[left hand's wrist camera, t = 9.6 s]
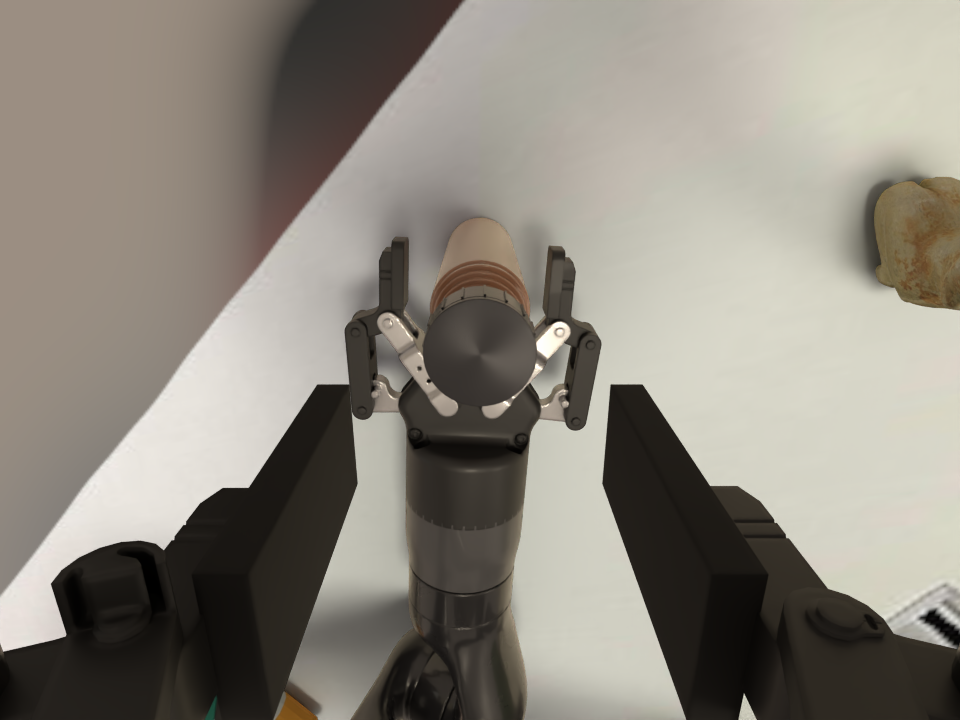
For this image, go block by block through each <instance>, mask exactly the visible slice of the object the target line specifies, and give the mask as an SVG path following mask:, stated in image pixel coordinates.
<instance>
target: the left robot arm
mask: <svg viewBox="0 0 960 720" xmlns="http://www.w3.org/2000/svg"><path fill="white" fill-rule="evenodd" d="M357 484H358V483H357V471H356V459H355V447H354V435H353V423H352V411H351V399H350V387H349V385H317V386H316V387H315V389H314V390H313V392H312V394H311V395H310V397H309V398H308V400H307V401H306V403H305V404H304V406H303V407H302V409H301V410H300V412H299V413H298V415H297V416H296V418H295V419H294V421H293V422H292V424H291V425H290V427H289V428H288V430H287V431H286V433H285V434H284V436H283V437H282V439H281V440H280V442H279V443H278V445H277V446H276V448H275V449H274V451H273V452H272V454H271V455H270V457H269V458H268V460H267V461H266V463H265V464H264V466H263V467H262V469H261V470H260V472H259V473H258V475H257V476H256V478H255V479H254V481H253V482H252V484H251V485H250V487H249V488H222V489H221V490H219V491H218V492H216V493H215V494H213V495H212V496H210V497H209V498H207V499H206V500H205V501H203V502H202V503H200V504H199V506H198V507H197V508H196V510H195V511H194V512H193V513H192V515H191V516H190V517H189V519H188V520H187V521H186V525H183V526H182V528H181V529H180V530H179V532H178V533H177V534H176V535H175V539H174V540H172V541H171V542H170V543H169V545H168V546H167V547H166V548H165V550H163V549H161V548H160V547H159V546H158V545H157V544H154V543H149V542H144V541H130V542H120V543H116V544H113V545H109V546H105V547H101V548H99V549H97V550H94V551H92V552H90V553H88V554H86V555H84V556H81V557H79V558H78V559H76V560H75V561H74V562H72V563H71V564H70V565H68V566H67V567H65V568H64V569H63V570H61V572H60V573H59V574H58V576H57V577H56V578H55V579H54V581H53V582H52V583H51V586H52V589H53V592H54V595H55V599H56V602H57V605H58V608H59V611H60V615H61V618H62V621H63V624H64V627H65V631H66V634H67V635H66V637H63V638H59V639H56V640H52V641H48V642H44V643H39V644H35V645H31V646H26V647H22V648H18V649H13V650H9V651H5V652H3V650H2V647H1V645H0V720H205V718H206V716H207V714H208V712H209V709H210V707H211V705H212V703H213V701H214V699H215V697H216V695H217V699H218V704H219V709H220V714H221V719H222V720H274V717H275V714H276V711H277V708H278V706H279V703H280V700H281V697H282V694H283V692H284V689H285V686H286V683H287V680H288V678H289V675H290V672H291V669H292V666H293V663H294V661H295V658H296V655H297V652H298V649H299V647H300V644H301V641H302V638H303V635H304V633H305V630H306V627H307V624H308V621H309V619H310V616H311V613H312V610H313V607H314V605H315V602H316V599H317V596H318V593H319V590H320V588H321V585H322V582H323V579H324V576H325V574H326V571H327V568H328V565H329V562H330V560H331V557H332V554H333V551H334V548H335V546H336V543H337V540H338V537H339V534H340V532H341V529H342V526H343V523H344V520H345V518H346V515H347V512H348V509H349V506H350V503H351V501H352V498H353V495H354V492H355V489H356V487H357ZM602 484H603V487H604V489H605V492H606V495H607V498H608V501H609V503H610V506H611V509H612V512H613V515H614V518H615V520H616V523H617V526H618V529H619V532H620V534H621V537H622V540H623V543H624V546H625V548H626V551H627V554H628V557H629V560H630V562H631V565H632V568H633V571H634V574H635V576H636V579H637V582H638V585H639V588H640V590H641V593H642V596H643V599H644V602H645V605H646V607H647V610H648V613H649V616H650V619H651V621H652V624H653V627H654V630H655V633H656V635H657V638H658V641H659V644H660V647H661V649H662V652H663V655H664V658H665V661H666V663H667V666H668V669H669V672H670V675H671V678H672V680H673V683H674V686H675V689H676V692H677V694H678V697H679V700H680V703H681V706H682V708H683V711H684V714H685V717H686V720H738V719H739V714H740V709H741V704H742V699H743V695H744V694H745V696H746V698H747V700H748V702H749V704H750V706H751V708H752V711H753V713H754V715H755V717H756V719H757V720H960V645H959V647H958V649H954V648H949V647H945V646H941V645H936V644H932V643H928V642H923V641H919V640H915V639H910V638H906V637H903V636H899V635H896V634H893V632H892V631H891V629H890V628H889V626H888V625H887V623H886V622H885V620H884V619H883V618H882V617H881V616H879V615H878V614H877V613H876V612H875V611H873V610H872V609H871V608H870V607H868V606H867V605H865V604H864V603H862V602H860V601H858V600H856V599H854V598H852V597H850V596H848V595H846V594H842V593H839V592H836V591H833V590H829V589H828V588H827V587H826V586H825V584H824V583H823V582H822V581H821V579H820V578H819V577H818V575H817V574H816V573H815V572H814V570H813V569H812V568H811V566H810V565H809V564H808V563H807V561H806V560H805V559H804V557H803V556H802V555H801V554H800V552H799V551H798V550H797V548H796V547H795V546H794V544H793V543H792V542H791V541H790V539H789V538H786V534H785V533H784V532H783V530H782V529H781V528H780V526H779V525H778V524H777V523H774V519H773V517H772V516H771V515H770V514H769V512H768V511H767V510H766V508H765V507H764V506H763V504H762V503H761V502H760V501H759V500H757V499H756V498H754V497H753V496H751V495H750V494H748V493H747V492H745V491H744V490H742V489H741V488H740V487H738V486H710V485H709V484H708V482H707V481H706V479H705V478H704V476H703V475H702V473H701V472H700V470H699V469H698V467H697V466H696V464H695V463H694V461H693V460H692V458H691V457H690V455H689V454H688V452H687V451H686V449H685V448H684V446H683V445H682V443H681V442H680V440H679V439H678V437H677V436H676V434H675V433H674V431H673V430H672V428H671V427H670V425H669V424H668V422H667V421H666V419H665V418H664V416H663V415H662V413H661V412H660V410H659V409H658V407H657V406H656V404H655V403H654V401H653V400H652V398H651V397H650V395H649V394H648V392H647V390H646V389H645V387H644V386H643V385H611V387H610V399H609V411H608V423H607V435H606V447H605V459H604V471H603V483H602Z"/></svg>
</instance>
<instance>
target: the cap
mask: <svg viewBox="0 0 960 720" xmlns="http://www.w3.org/2000/svg"><path fill="white" fill-rule="evenodd" d="M427 326H428V328H427V332H426V333H425V336H424V340H423V343H422V347H423V361H424V366H425V369H426V372H427V374H428V376H429V378H430V380H431V381H432V383H433V384H434V385H435V386H436V388H437V389H438V390H439V391H440V392H442V393H443V394H444V395H445V396H447V397H449V398H450V399H452V400H454V401H456V402H458V403H462V404H465V405H470V406H490V405H495V404H499V403H501V402H504V401H506V400H508V399H510V398H511V397H513V396H514V395H516V394H517V393H518V392H520V391H521V390H522V389H523V388H524V386H525V385H526V384H527V383H528V381H529V380H530V378H531V376H532V374H533V372H534V369H535V366H536V361H537V356H538V353H537V344H536V339H535V336H534V335H536V333H535V329H534V326H533V322H532V321H531V322H530V319H529V316H528V314H527V312H526V311H525V309H524V306H523V304H522V303H521V304H520V303H519V302H518V301H517V300H516V299H515V298H514V297H512V296H511V295H509V294H508V293H507V291H502V290H499V289H496V288H492V287H487V286H486V285H484V286H473V287H467V288H464V287H462V289H461V290H458V291H456V292H454V293H452V294H451V295H449V296H448V297H446V298H445V297H444V298H443V301H442V302H441V303H440V304H439V305H438V306H437V308H436V309H435V311H434V312H433V314H432V313H431V315H430V318H429V321H428V325H427Z"/></svg>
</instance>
